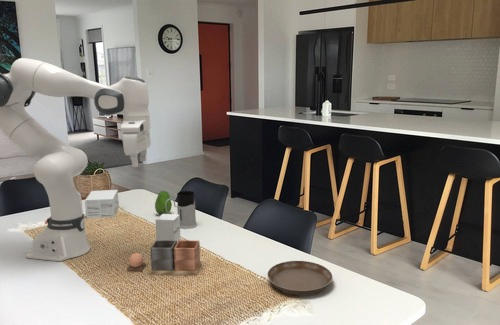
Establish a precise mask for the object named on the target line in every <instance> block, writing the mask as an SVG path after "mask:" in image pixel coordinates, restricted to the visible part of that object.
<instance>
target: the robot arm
mask: <svg viewBox="0 0 500 325" xmlns="http://www.w3.org/2000/svg"><path fill="white" fill-rule="evenodd" d="M36 93H37V94H40V95H42V96H43V95H44V96H48V97H53V98H65V97H83V98H88V99H92V100H93V101H94V106H95V108H96V110H97V112H99V113H100V114H101V115H105V116H114V115H121V114H122V115H123V116H122V117H123V121H122V124H121V126H120V133H121V134H122V139H121V140H122V146H123V153H124V155H125V156H127V157H128V156H129V158H130V160H131V161H130V162H131V165H132V167H133V168H137V167H138V166H139V165H140V164H139V161H140V162H141V163H142V162H143V163H144V162H146V161H147V151H148V148H150V147H151V141H152V140H151V133H150V132H151V131H150V130H151V120H150V119H151V118H150V117H151V115H150V112H149V104H150V100H149V99H150V98H149V91H148V85H147V83H146V81H145V80H144V79H143V78H140V77H135V76H124V77H122V78H121V79H120V80H119V81H118V82H116V83H114V84H111V85H108V84H103V83H101V82H97V81H95V80H90V79H87V78H84V77H82V76H80V75H78V74H75V73H73V72H71V71H68V70H66V69H64V68H61V67H59V66H57V65H54V64H51V63H49V62H46V61H42V60H38V59H35V58H34V59H33V58H26V57H20V58H18V59H16V60H15V61H13V63H12V65H11V66H10V70H9V72H8V73H0V130H1V132H2V133H3V134H4V136H6V137H7V139H9V140H10V141H11V143H14V145H16V147H18V148H19V149H20V150H21V151H22V152H23V153H24V154H25V155H28V156H30V157H33V158H35V159H38V161H36V163H35V164H34V167H33V174H34V175H33V176H34V177H35V179H36V181H37V182H38V183H40V184H42V185H43V187H44V189H45V192H46V194H47V196H48V202H49V209H50V216H49V217H48V218H47V219H46V220H44V225H47V226H46V227H45V228H44V229H43V230H42V231H41V232H39V233H38V234H37V235H36V236H35V237H34V239H33V240H32V246H31V248H30V249H29V250H27V251H26V253H25V254H26V256H25V258H26V259H31V260H32V259H34V260H42V261H44V260H46V261H51V262H52V261H53V262H62V261H65V260H68V259H71V258H77V257H81V256H83V255H85V254H87V253H88V252H89V251H90V250H91V246H90V244H89V241H88V238H87V234H86V230H85V229H86V221H85V220H86V219H85V214H84V213H83V202H82V195H81V193H80V191H78V190H77V188H76V186H75V182H74V178H75V177H76V176H79V175H81V174H82V173H83V172H84V171H85V169H86V168H87V167H88V163H89V162H88V160H89V159H88V156H87V154H86V153H85V152H84V151H83V150H82V149H79V148H76V147H74V146H71V145H70V144H68V143H66V142H64V141H63V140H62V139H60V138H58V137H57V136H55V135H53V134H52V133H51V132H49V131H48V130H47V129H46V128H45V127H44V126H42V124H40V123H39V122H38V121H37V120H36V119H35V118H34V117H33V116H31V115H30V114H29V113H28V112H27V110H26V107H28V106H30V105H31V103H32V100H33V99H34V97H35V95H36ZM139 154H140V156H139V161H138V155H139Z"/></svg>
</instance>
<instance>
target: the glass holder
mask: <svg viewBox="0 0 500 325" xmlns="http://www.w3.org/2000/svg"><path fill="white" fill-rule="evenodd" d="M176 195H177V197H176V198H177V205H176V201H175V200H174V199H173V198H170V199H171V201H172V202H173V206H174V208H176V209H177V215H180V230H189V229H194V228H196V227H197V226H198V225H197V221H196V217H197V216H196V199H195V198H196V197H195V192H194V191H191V190H183V191H182V190H181V191H179V192H177V193H176ZM170 199H168V200H170ZM168 200H167V201H168ZM167 201H166V202H165V208H166V211H167V207H166V203H167ZM167 213H168V211H167ZM168 214H170V212H169V213H168Z"/></svg>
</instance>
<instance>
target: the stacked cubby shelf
mask: <svg viewBox="0 0 500 325" xmlns="http://www.w3.org/2000/svg"><path fill="white" fill-rule="evenodd" d="M200 244H201V243H200V240H189V239H188V240H183V239H182V240H181V239H180V240H178V242H177V240H155V241H154V242H153V243H152V244H151V245H152V246H150V248H149V249H150V265H151V266H150V267H151V269H150V271H149V275H170V276H171V275H172V276H173V275H175V276H177V275H178V276H179V275H181V276H183V275H184V276H197V275H198V274H199V271H200V269H201V266H202V260H201V251H200V250H201V249H200V248H201V247H200V246H201V245H200Z"/></svg>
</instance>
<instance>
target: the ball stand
mask: <svg viewBox="0 0 500 325" xmlns="http://www.w3.org/2000/svg"><path fill="white" fill-rule="evenodd" d="M146 266H147V262H143V264H142V265H141V266H140V267H138V268H134V267H132V266H131V265H130V264H129V265H128V266H127V268H126V272H132V273H133V272H134V273H135V272H139V273H140V272H143V271H144V269H145V268H146Z"/></svg>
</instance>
